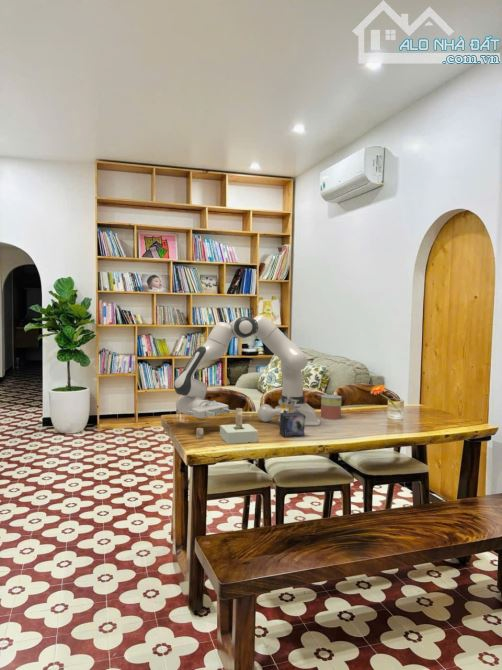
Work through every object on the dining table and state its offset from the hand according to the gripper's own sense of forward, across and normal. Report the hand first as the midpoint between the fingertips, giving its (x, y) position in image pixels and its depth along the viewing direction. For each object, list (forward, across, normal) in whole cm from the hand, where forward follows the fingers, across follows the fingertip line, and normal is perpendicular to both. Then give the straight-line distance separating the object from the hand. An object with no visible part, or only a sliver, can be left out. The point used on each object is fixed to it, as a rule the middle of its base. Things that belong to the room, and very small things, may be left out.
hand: (222, 413), depth 227 cm
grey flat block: (+10, 0, +10) cm, 15 cm away
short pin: (-2, -12, +10) cm, 16 cm away
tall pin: (+10, 0, +10) cm, 15 cm away
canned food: (+17, +70, +10) cm, 73 cm away
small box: (+24, +23, +10) cm, 35 cm away
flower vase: (+7, +34, +10) cm, 37 cm away
